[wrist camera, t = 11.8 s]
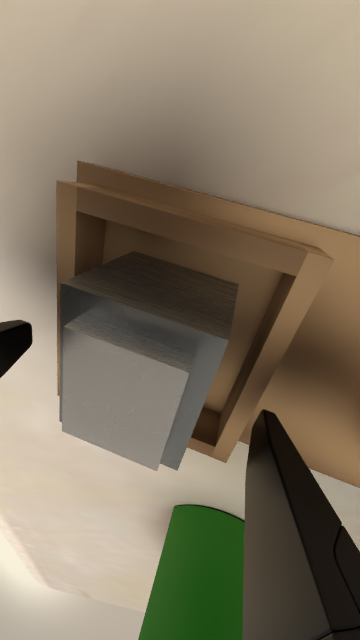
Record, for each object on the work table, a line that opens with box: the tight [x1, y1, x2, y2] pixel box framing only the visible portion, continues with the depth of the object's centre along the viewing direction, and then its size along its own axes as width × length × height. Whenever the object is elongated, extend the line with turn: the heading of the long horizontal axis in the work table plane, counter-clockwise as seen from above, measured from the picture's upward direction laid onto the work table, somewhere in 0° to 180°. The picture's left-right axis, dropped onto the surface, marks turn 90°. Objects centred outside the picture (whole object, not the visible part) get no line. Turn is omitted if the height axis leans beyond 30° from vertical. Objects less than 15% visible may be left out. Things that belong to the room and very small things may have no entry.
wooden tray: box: [57, 161, 360, 488], centre depth 11 cm, size 12×23×4 cm, turn 76°
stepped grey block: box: [60, 251, 239, 471], centre depth 10 cm, size 6×5×6 cm
